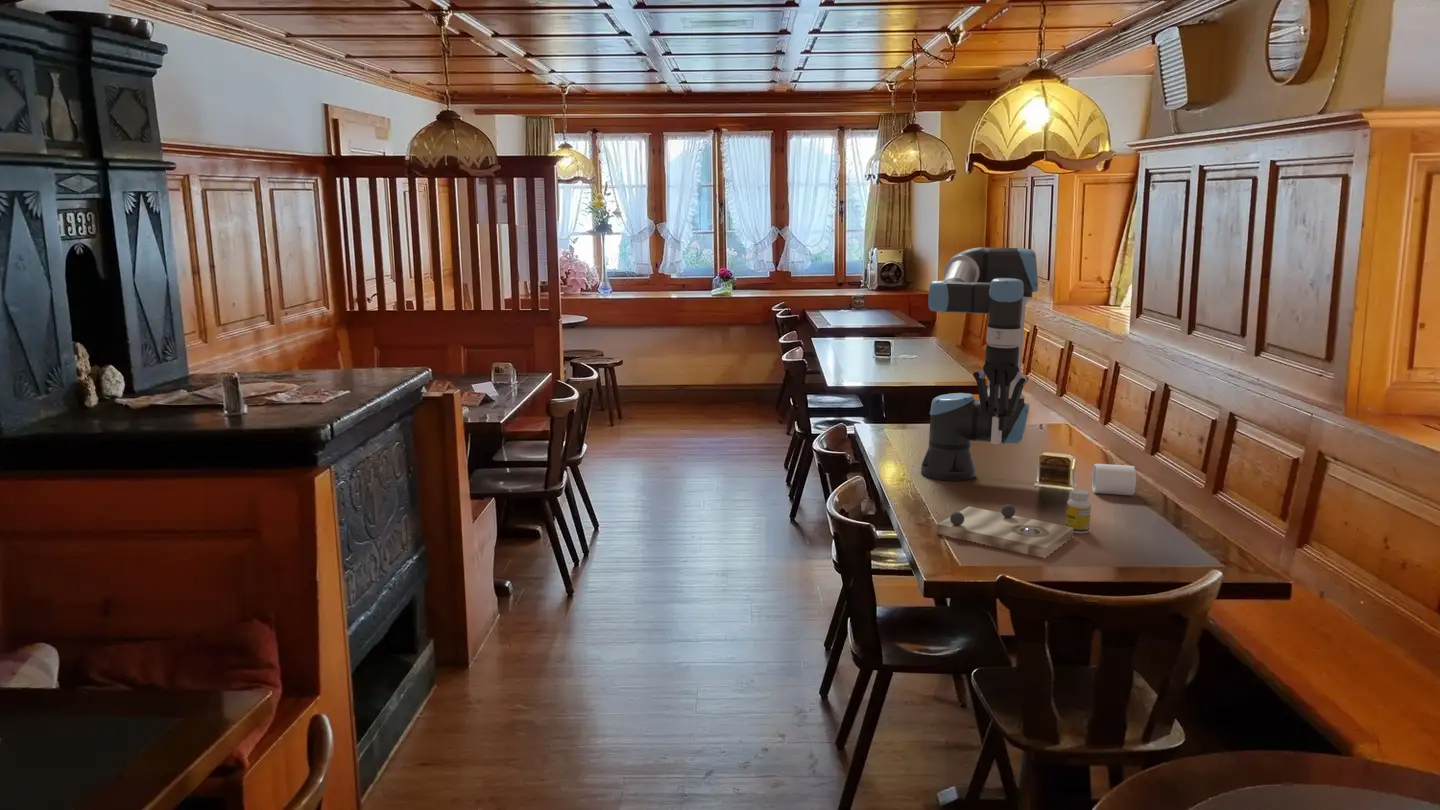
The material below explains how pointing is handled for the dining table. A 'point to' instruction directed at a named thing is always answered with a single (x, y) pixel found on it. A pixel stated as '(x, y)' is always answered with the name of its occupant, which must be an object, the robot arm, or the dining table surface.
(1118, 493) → the mug
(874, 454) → the dining table surface
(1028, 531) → the steel ball
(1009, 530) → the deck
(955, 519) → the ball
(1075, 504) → the supplement bottle
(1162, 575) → the dining table surface
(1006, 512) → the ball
